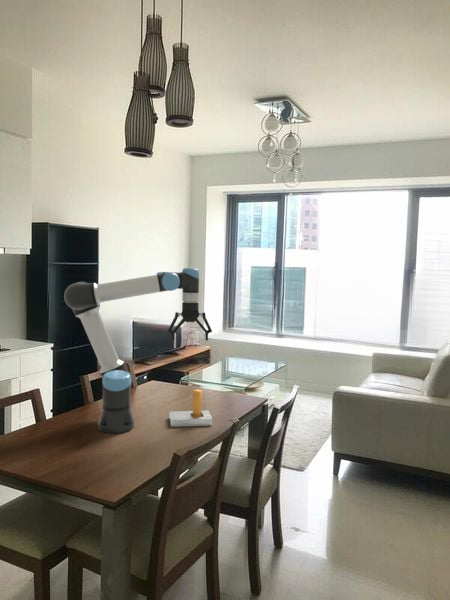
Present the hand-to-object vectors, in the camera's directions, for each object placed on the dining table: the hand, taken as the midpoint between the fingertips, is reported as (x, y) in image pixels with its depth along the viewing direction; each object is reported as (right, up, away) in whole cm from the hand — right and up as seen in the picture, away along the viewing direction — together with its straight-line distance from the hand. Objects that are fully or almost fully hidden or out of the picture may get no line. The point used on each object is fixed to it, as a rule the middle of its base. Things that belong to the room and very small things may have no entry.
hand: (189, 347), depth 221 cm
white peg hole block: (+1, -32, -7) cm, 33 cm away
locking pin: (+4, -32, -7) cm, 33 cm away
